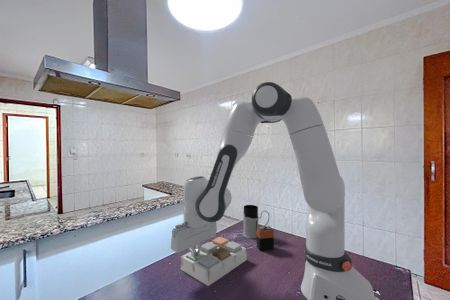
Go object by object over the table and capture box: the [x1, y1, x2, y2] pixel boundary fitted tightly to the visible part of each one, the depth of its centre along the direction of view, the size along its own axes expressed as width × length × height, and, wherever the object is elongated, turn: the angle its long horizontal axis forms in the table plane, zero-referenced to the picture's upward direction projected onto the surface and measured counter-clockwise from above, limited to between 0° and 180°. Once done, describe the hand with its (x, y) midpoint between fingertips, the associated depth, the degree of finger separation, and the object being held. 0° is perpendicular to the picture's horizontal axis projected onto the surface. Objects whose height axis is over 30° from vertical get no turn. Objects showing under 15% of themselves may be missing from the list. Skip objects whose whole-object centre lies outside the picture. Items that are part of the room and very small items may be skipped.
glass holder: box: [242, 204, 270, 239], centre depth 113 cm, size 9×14×15 cm, turn 67°
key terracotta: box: [211, 236, 229, 248], centre depth 93 cm, size 5×5×3 cm
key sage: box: [186, 253, 205, 262], centre depth 83 cm, size 5×5×3 cm
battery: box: [256, 225, 275, 252], centre depth 99 cm, size 4×7×10 cm, turn 101°
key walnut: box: [212, 247, 230, 261], centre depth 83 cm, size 5×5×3 cm
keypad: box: [180, 240, 248, 287], centre depth 86 cm, size 15×22×6 cm
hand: (195, 254), depth 83 cm, fingers closed, pressing on key sage
